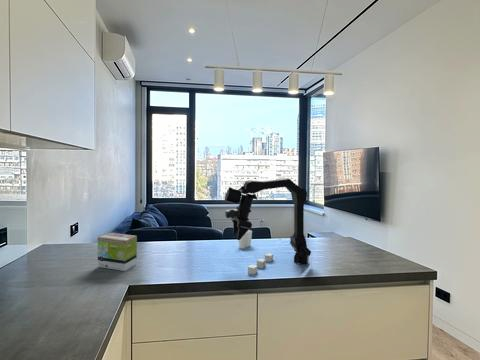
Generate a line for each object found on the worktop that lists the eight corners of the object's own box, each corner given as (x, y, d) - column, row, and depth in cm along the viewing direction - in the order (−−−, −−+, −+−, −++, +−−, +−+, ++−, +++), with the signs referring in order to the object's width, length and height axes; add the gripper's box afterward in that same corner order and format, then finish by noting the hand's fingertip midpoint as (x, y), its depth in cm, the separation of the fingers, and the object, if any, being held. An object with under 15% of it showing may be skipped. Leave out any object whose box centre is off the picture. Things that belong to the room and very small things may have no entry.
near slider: (257, 271, 146) (257, 265, 146) (253, 274, 143) (254, 268, 143) (251, 270, 148) (251, 264, 148) (247, 273, 144) (248, 267, 144)
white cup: (253, 248, 187) (254, 232, 186) (241, 249, 184) (241, 233, 183) (248, 245, 194) (248, 229, 194) (236, 246, 192) (236, 229, 191)
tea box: (96, 267, 149) (96, 237, 148) (110, 261, 159) (110, 232, 157) (125, 271, 145) (125, 240, 144) (137, 264, 155) (137, 234, 154)
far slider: (272, 259, 164) (273, 254, 164) (270, 261, 161) (270, 256, 160) (267, 258, 166) (267, 253, 165) (264, 260, 162) (264, 255, 162)
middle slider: (265, 265, 155) (265, 259, 155) (262, 267, 152) (262, 261, 152) (259, 264, 157) (260, 258, 156) (256, 266, 153) (256, 260, 153)
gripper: (225, 199, 159) (216, 229, 159) (233, 205, 141) (223, 239, 141) (246, 204, 162) (237, 233, 162) (256, 211, 144) (246, 244, 144)
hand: (236, 237), depth 152 cm, fingers open, 9 cm apart
